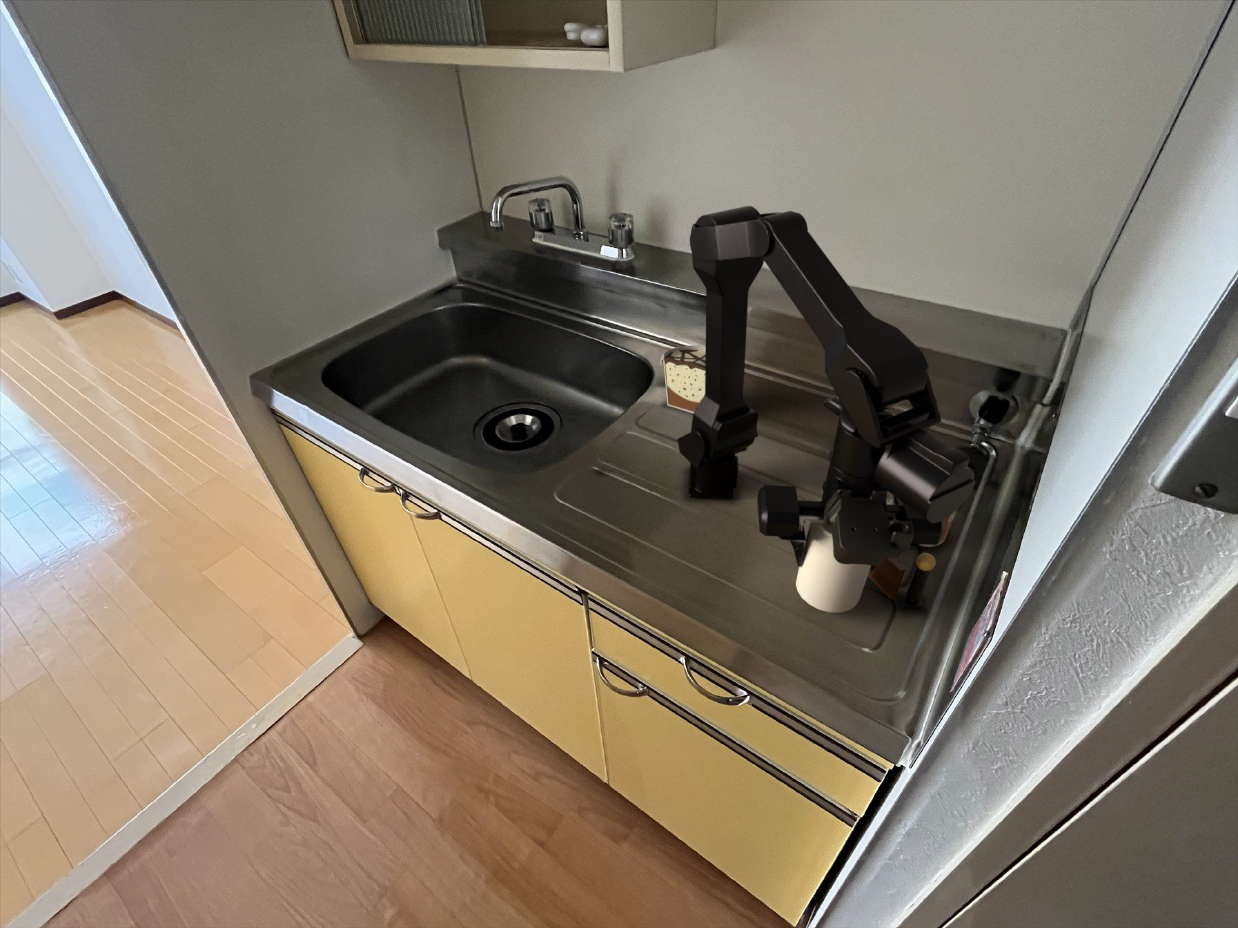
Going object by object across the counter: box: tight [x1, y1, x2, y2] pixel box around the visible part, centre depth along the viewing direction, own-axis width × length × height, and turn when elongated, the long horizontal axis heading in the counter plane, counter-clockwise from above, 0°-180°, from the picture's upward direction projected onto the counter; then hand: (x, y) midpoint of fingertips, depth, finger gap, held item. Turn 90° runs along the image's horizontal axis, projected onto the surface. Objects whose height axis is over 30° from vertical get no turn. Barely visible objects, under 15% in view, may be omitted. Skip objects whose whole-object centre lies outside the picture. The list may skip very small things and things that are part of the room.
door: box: [867, 558, 907, 600], centre depth 80 cm, size 12×2×5 cm, turn 23°
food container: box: [660, 344, 706, 414], centre depth 110 cm, size 12×6×10 cm, turn 58°
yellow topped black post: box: [899, 552, 937, 611], centre depth 74 cm, size 2×2×8 cm
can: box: [795, 522, 871, 614], centre depth 74 cm, size 8×8×12 cm
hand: (833, 566), depth 75 cm, fingers closed on can, 7 cm apart
